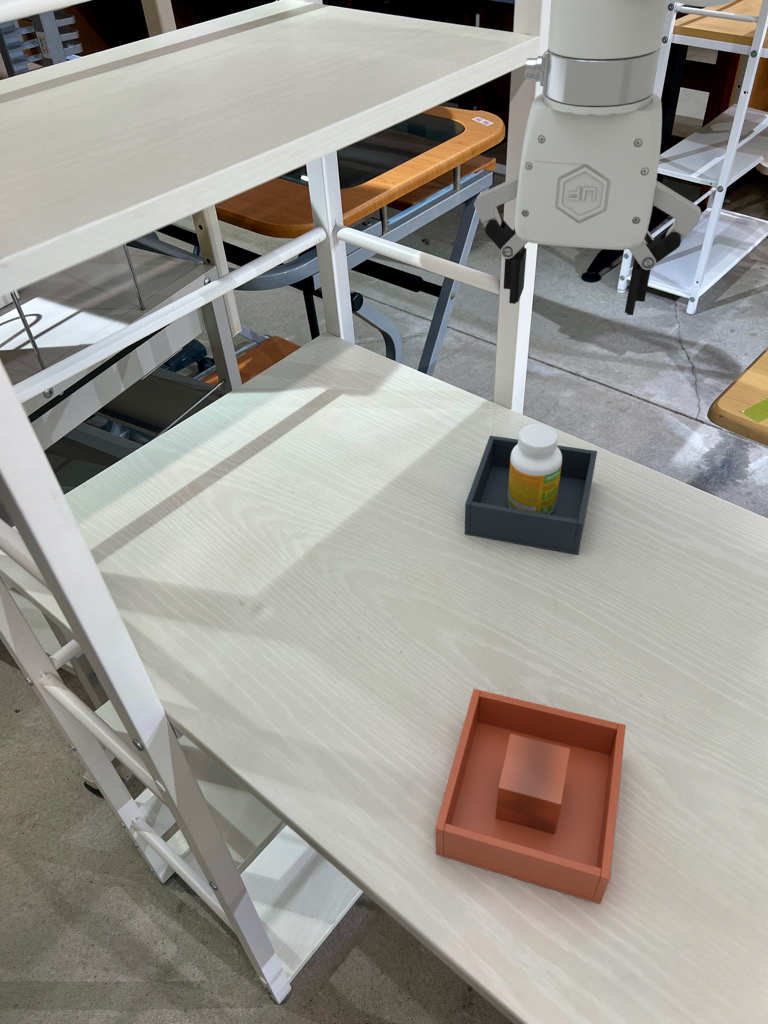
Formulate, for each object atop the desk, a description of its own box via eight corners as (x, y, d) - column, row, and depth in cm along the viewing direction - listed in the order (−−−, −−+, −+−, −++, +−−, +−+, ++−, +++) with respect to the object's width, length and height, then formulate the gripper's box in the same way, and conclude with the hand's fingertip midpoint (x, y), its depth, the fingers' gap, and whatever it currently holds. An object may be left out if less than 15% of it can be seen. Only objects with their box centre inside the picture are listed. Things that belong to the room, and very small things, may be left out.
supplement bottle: (544, 526, 81) (553, 457, 74) (499, 511, 83) (503, 441, 76) (563, 497, 84) (573, 427, 77) (519, 482, 86) (524, 414, 80)
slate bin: (592, 481, 86) (597, 450, 83) (578, 555, 78) (583, 524, 75) (488, 465, 90) (489, 435, 87) (464, 534, 81) (465, 504, 78)
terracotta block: (563, 780, 60) (570, 748, 56) (554, 835, 57) (561, 804, 53) (506, 765, 61) (510, 732, 58) (495, 818, 58) (497, 787, 54)
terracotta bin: (617, 753, 62) (625, 724, 59) (600, 904, 53) (609, 879, 50) (472, 717, 65) (473, 688, 62) (435, 854, 57) (434, 828, 53)
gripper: (466, 89, 52) (463, 312, 64) (732, 95, 47) (676, 334, 59) (489, 62, 57) (482, 273, 69) (731, 65, 53) (679, 291, 64)
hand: (572, 301), depth 64 cm, fingers open, 9 cm apart
